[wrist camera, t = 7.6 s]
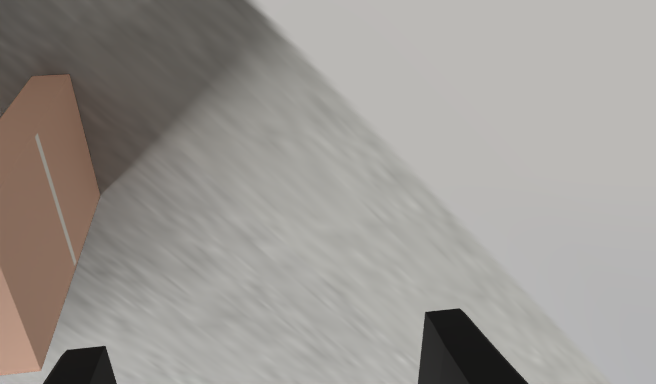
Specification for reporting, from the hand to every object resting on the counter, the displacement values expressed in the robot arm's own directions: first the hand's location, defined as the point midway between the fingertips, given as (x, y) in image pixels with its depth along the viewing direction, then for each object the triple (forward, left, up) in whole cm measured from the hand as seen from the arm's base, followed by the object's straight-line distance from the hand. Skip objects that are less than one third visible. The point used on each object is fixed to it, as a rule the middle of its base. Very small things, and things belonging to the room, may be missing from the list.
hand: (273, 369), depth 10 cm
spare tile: (-5, +1, -9) cm, 11 cm away
